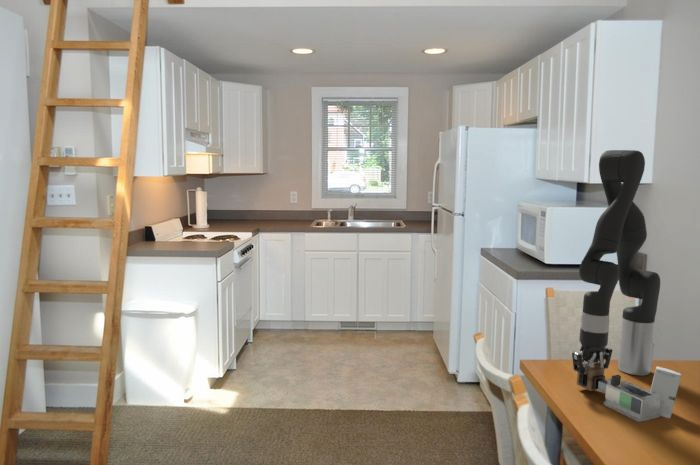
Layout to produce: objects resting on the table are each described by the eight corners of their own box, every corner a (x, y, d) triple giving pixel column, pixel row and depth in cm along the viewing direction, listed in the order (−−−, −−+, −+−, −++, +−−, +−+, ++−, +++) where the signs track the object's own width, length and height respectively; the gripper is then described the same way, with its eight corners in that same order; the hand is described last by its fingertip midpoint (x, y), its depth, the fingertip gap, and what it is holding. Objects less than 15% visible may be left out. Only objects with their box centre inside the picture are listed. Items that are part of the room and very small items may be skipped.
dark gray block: (617, 383, 149) (618, 374, 149) (620, 384, 148) (620, 375, 148) (611, 385, 148) (611, 375, 148) (613, 386, 147) (614, 377, 147)
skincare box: (645, 411, 146) (655, 368, 145) (645, 407, 150) (655, 365, 149) (671, 419, 143) (681, 375, 142) (671, 415, 147) (681, 372, 146)
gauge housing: (623, 400, 154) (625, 380, 153) (659, 416, 144) (662, 395, 143) (603, 404, 150) (605, 384, 150) (639, 422, 141) (641, 400, 140)
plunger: (601, 386, 158) (602, 368, 157) (629, 399, 149) (631, 380, 149) (587, 389, 156) (588, 370, 155) (615, 403, 147) (617, 383, 146)
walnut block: (589, 381, 163) (590, 362, 162) (602, 388, 158) (604, 368, 158) (576, 384, 161) (578, 364, 160) (590, 390, 156) (592, 370, 156)
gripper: (601, 322, 164) (597, 376, 166) (566, 326, 158) (561, 382, 160) (623, 329, 157) (618, 385, 159) (586, 334, 151) (582, 392, 153)
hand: (589, 383), depth 160 cm, fingers closed on walnut block, 5 cm apart
